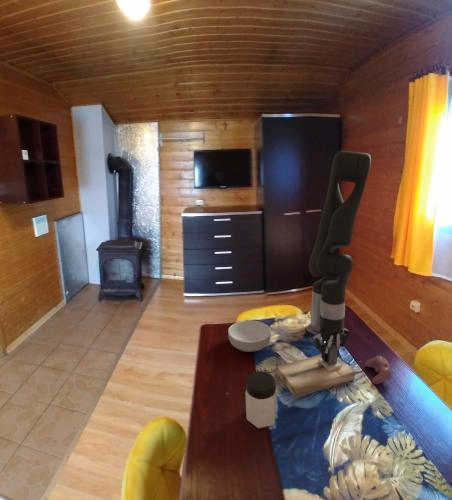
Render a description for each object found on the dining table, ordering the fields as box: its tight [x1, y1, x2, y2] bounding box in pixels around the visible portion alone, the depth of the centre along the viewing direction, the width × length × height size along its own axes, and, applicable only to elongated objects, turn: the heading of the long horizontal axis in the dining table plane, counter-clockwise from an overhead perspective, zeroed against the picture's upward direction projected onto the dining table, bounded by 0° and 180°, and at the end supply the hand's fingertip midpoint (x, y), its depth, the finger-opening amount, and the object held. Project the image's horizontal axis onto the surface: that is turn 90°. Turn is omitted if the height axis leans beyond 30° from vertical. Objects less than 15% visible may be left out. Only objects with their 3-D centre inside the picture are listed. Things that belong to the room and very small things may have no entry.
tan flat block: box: [276, 353, 356, 399], centre depth 101 cm, size 12×22×3 cm, turn 109°
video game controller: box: [365, 355, 393, 385], centre depth 100 cm, size 10×5×7 cm, turn 169°
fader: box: [318, 342, 342, 371], centre depth 101 cm, size 6×5×7 cm
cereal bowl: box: [227, 319, 272, 353], centre depth 119 cm, size 17×17×7 cm
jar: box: [245, 371, 277, 429], centre depth 85 cm, size 9×8×12 cm
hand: (329, 359), depth 102 cm, fingers closed on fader, 3 cm apart
